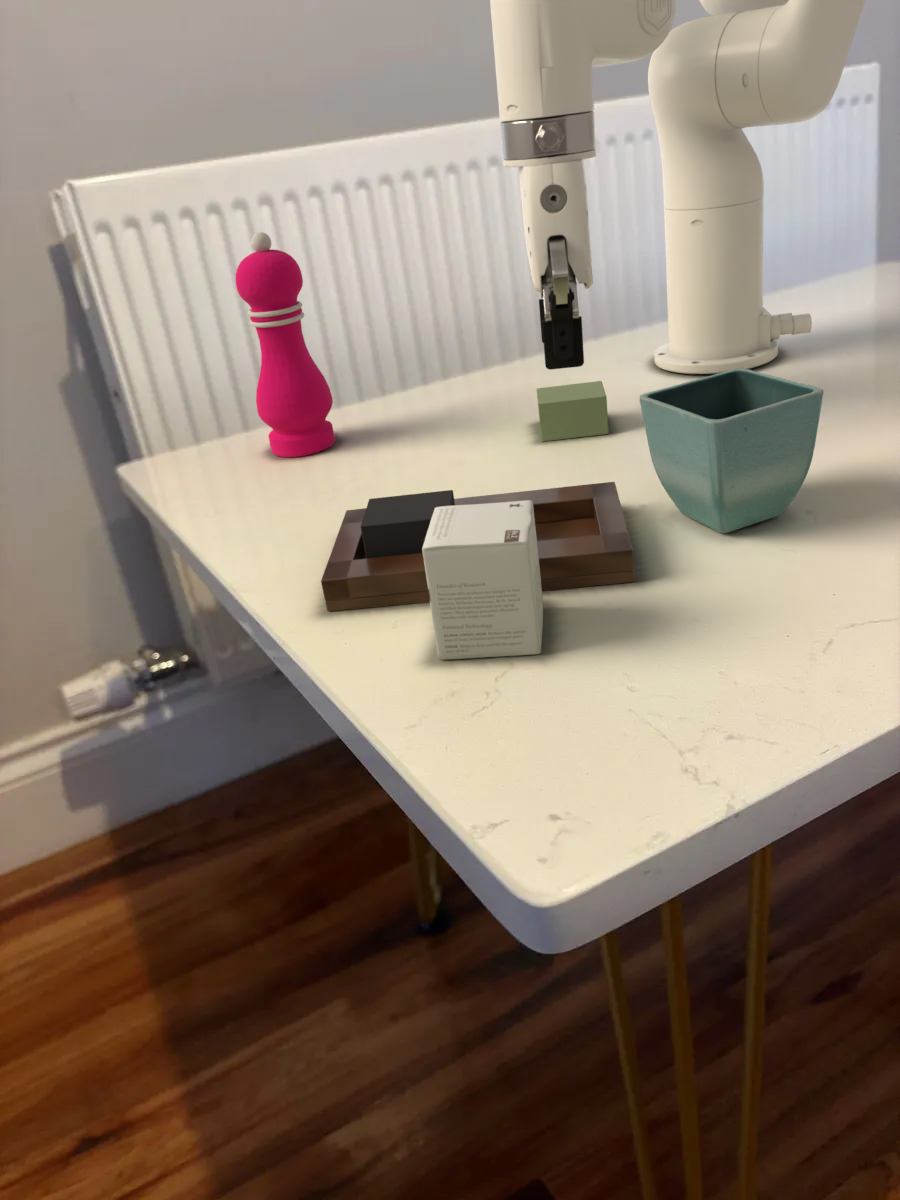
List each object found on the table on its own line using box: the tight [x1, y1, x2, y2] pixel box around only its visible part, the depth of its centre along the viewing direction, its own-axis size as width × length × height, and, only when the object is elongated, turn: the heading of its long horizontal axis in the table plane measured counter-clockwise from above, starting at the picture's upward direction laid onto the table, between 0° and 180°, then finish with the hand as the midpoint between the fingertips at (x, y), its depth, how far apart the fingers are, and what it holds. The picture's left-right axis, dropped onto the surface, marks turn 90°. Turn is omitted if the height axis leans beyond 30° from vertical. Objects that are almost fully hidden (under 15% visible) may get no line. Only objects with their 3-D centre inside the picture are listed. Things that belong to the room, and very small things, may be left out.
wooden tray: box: [320, 481, 636, 612], centre depth 71 cm, size 20×12×2 cm, turn 87°
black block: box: [361, 489, 455, 559], centre depth 71 cm, size 6×5×4 cm
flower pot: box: [638, 368, 824, 534], centre depth 70 cm, size 9×9×9 cm
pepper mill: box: [235, 231, 336, 458], centre depth 95 cm, size 7×7×20 cm
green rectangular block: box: [536, 380, 610, 442], centre depth 93 cm, size 6×5×4 cm
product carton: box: [422, 500, 544, 660], centre depth 60 cm, size 6×6×7 cm
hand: (562, 354), depth 90 cm, fingers open, 9 cm apart
